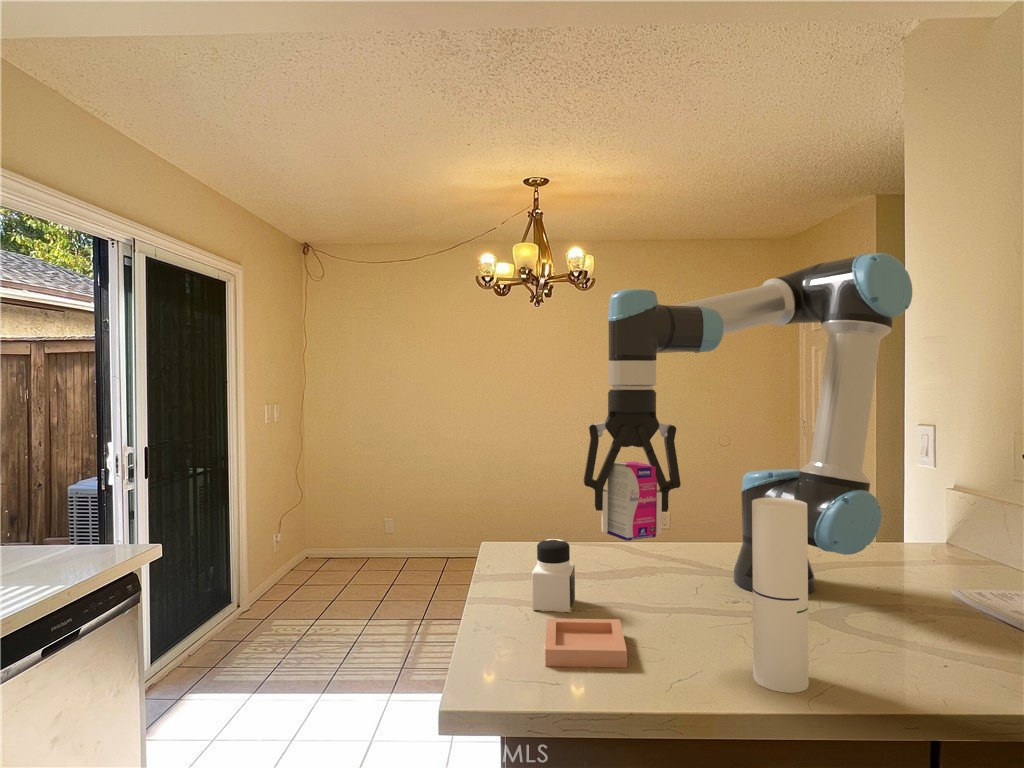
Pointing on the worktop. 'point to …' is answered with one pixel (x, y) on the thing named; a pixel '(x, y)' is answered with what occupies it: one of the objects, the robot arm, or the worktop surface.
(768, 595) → the cylindrical container
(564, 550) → the medicine bottle
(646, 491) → the supplement box
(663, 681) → the worktop surface
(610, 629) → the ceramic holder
